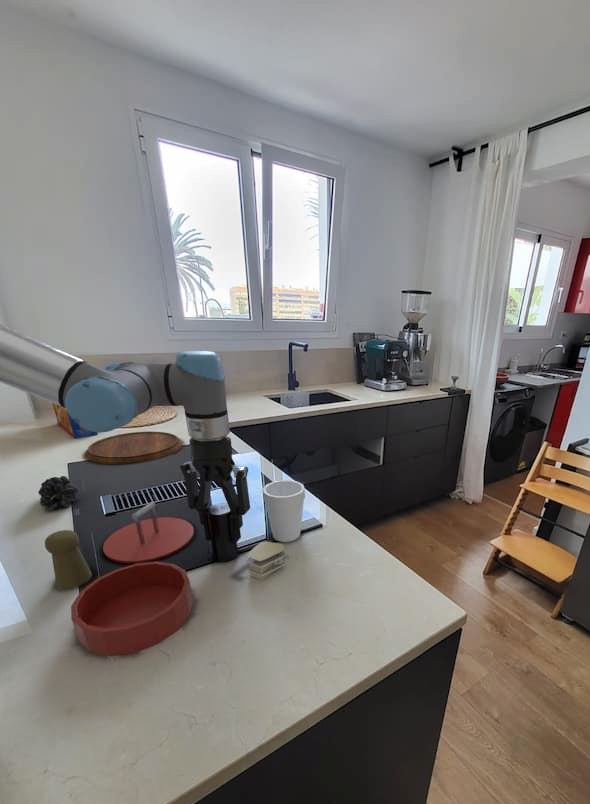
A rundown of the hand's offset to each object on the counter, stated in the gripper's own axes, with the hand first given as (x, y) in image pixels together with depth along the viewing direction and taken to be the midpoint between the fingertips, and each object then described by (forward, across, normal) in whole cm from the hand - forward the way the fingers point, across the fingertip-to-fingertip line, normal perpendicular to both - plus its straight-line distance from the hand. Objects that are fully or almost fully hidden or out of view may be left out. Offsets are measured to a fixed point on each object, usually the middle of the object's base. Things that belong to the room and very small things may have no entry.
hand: (223, 538), depth 85 cm
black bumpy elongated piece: (+5, -56, +14) cm, 58 cm away
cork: (+5, -25, -14) cm, 29 cm away
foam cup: (+5, +10, +11) cm, 16 cm away
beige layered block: (+5, +11, -3) cm, 12 cm away
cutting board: (+5, -66, +56) cm, 87 cm away
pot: (+5, -6, -20) cm, 21 cm away
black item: (+5, 0, 0) cm, 5 cm away
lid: (+4, -20, +2) cm, 21 cm away
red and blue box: (+5, -107, +72) cm, 129 cm away
